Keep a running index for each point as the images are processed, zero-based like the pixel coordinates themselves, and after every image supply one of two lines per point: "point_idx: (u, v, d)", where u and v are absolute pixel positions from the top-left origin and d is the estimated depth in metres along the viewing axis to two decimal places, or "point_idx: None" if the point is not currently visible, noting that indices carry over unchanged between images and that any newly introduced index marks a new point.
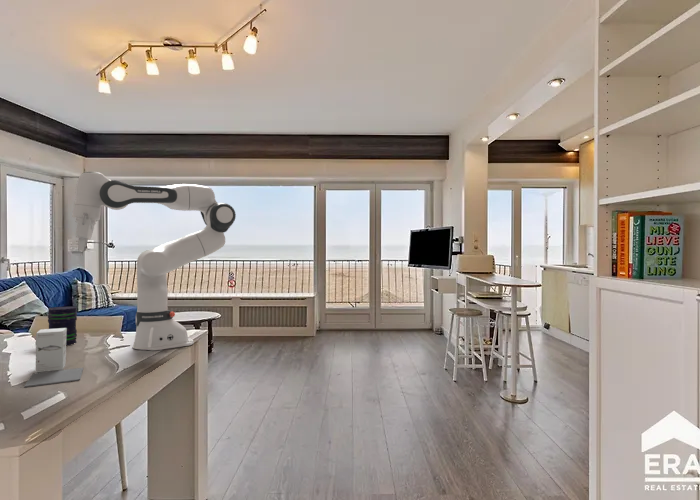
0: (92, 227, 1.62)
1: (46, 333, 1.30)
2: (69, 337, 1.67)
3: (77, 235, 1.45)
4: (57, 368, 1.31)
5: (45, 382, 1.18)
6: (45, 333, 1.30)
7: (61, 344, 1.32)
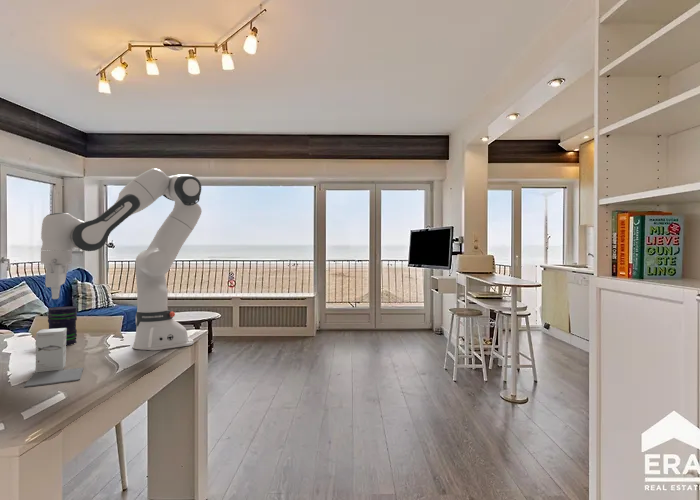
0: (65, 270, 1.51)
1: (46, 333, 1.30)
2: (69, 337, 1.67)
3: (47, 285, 1.34)
4: (57, 368, 1.31)
5: (45, 382, 1.18)
6: (45, 333, 1.30)
7: (61, 344, 1.32)
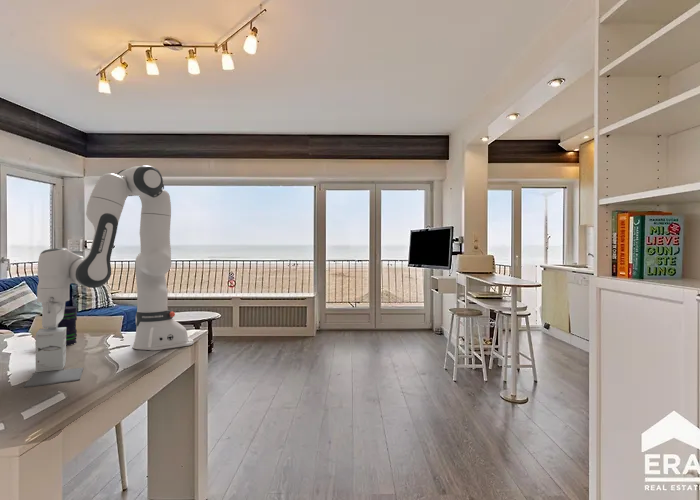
0: (63, 306, 1.46)
1: (46, 333, 1.29)
2: (69, 337, 1.67)
3: (43, 326, 1.29)
4: (57, 368, 1.31)
5: (45, 382, 1.18)
6: (45, 333, 1.29)
7: (61, 344, 1.31)
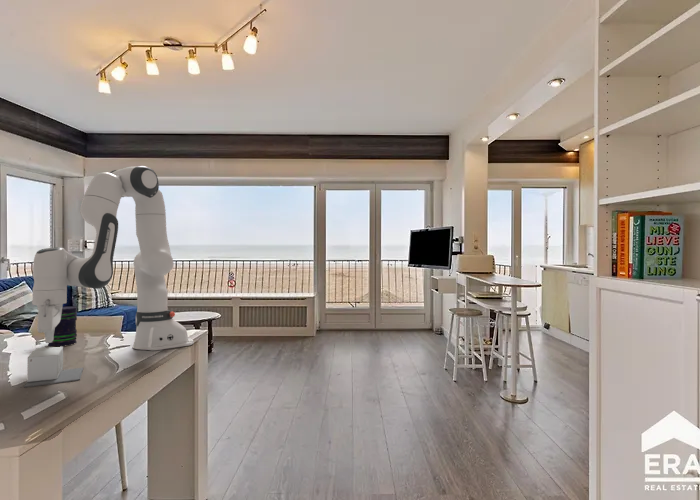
0: (60, 308, 1.38)
1: (38, 380, 1.19)
2: (69, 337, 1.67)
3: (39, 330, 1.22)
4: None
5: (45, 382, 1.18)
6: (37, 380, 1.19)
7: None
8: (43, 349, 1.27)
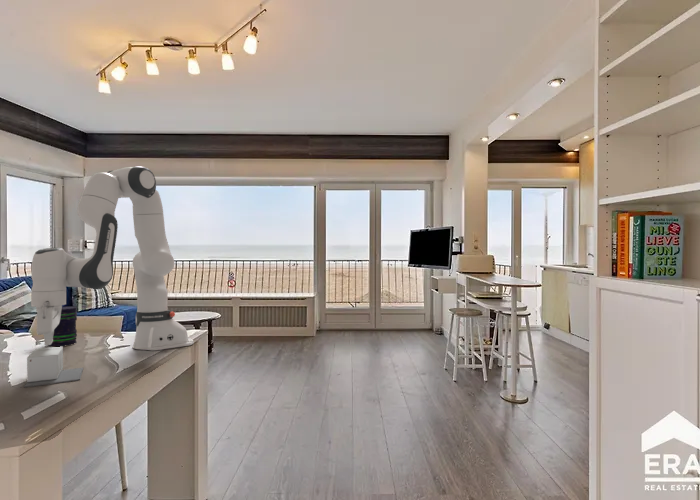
0: (59, 310, 1.36)
1: (38, 380, 1.19)
2: (69, 337, 1.67)
3: (38, 332, 1.19)
4: None
5: (45, 382, 1.18)
6: (37, 380, 1.19)
7: None
8: (43, 349, 1.27)
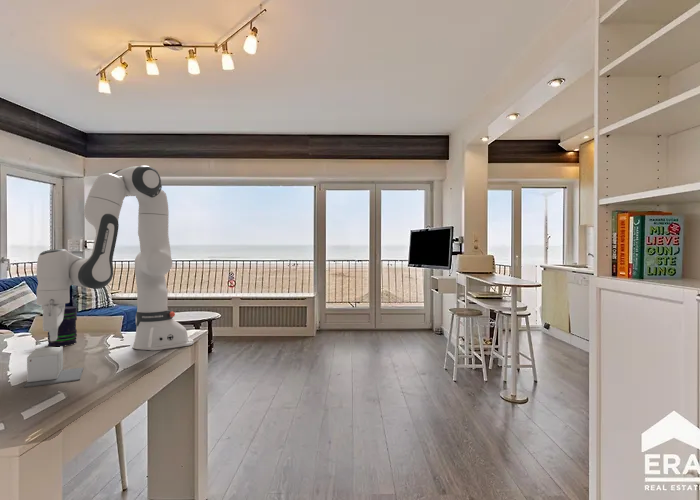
0: (63, 308, 1.43)
1: (38, 380, 1.19)
2: (69, 337, 1.67)
3: (44, 329, 1.26)
4: None
5: (45, 382, 1.18)
6: (37, 380, 1.19)
7: None
8: (43, 349, 1.27)
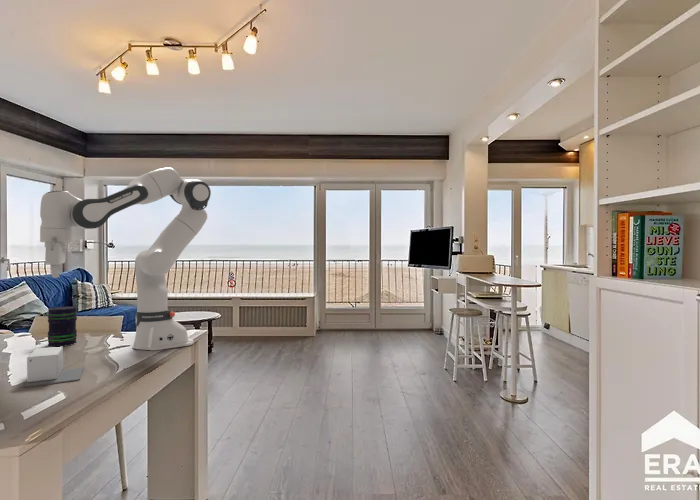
0: (65, 250, 1.50)
1: (38, 380, 1.19)
2: (69, 337, 1.67)
3: (47, 262, 1.33)
4: None
5: (45, 382, 1.18)
6: (37, 380, 1.19)
7: None
8: (43, 349, 1.27)
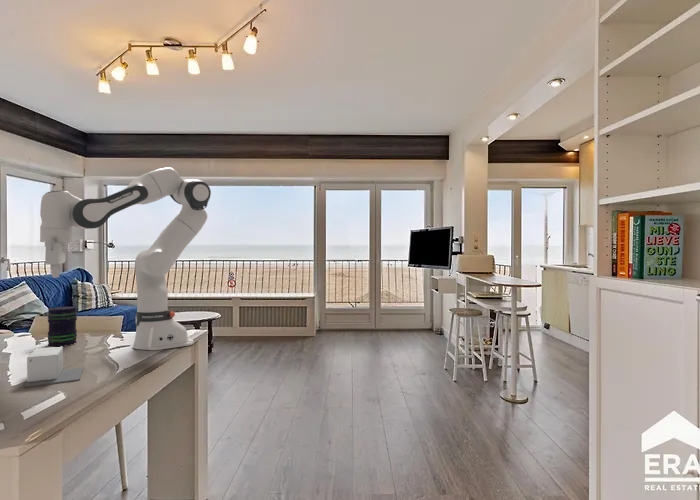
0: (65, 249, 1.50)
1: (38, 380, 1.19)
2: (69, 337, 1.67)
3: (47, 262, 1.33)
4: None
5: (45, 382, 1.18)
6: (37, 380, 1.19)
7: None
8: (43, 349, 1.27)
